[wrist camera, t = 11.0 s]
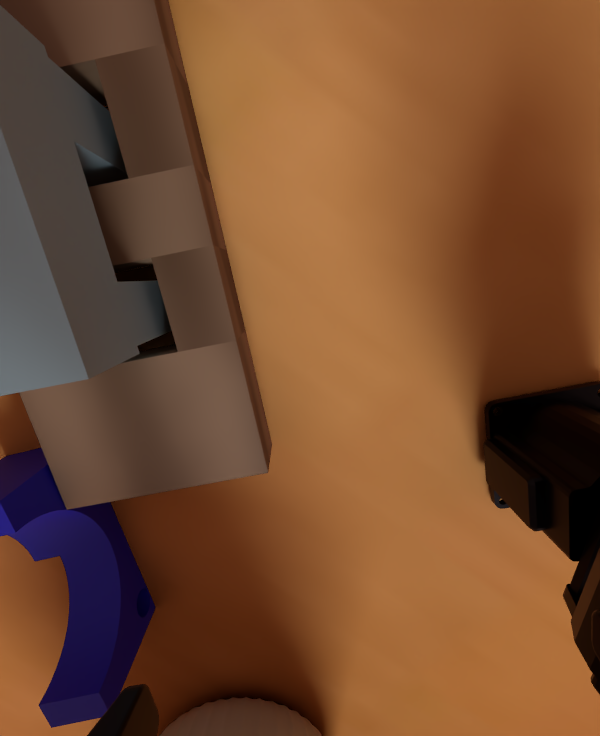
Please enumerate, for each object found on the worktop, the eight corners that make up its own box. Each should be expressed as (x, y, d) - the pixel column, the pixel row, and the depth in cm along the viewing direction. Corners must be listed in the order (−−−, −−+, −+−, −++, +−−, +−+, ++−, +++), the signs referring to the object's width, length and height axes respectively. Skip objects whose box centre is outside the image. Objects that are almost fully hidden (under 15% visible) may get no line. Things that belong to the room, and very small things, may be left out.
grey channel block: (119, 114, 16) (-63, -53, 8) (180, 333, 19) (88, 378, 10) (46, 130, 16) (-209, -19, 8) (116, 345, 19) (-25, 400, 10)
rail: (144, -102, 14) (105, -198, 11) (271, 444, 20) (268, 472, 17) (-95, -45, 15) (-192, -124, 12) (99, 476, 21) (66, 509, 18)
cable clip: (8, 454, 20) (-106, 525, 15) (84, 436, 20) (-1, 501, 14) (90, 619, 23) (22, 733, 17) (156, 604, 23) (110, 715, 17)
